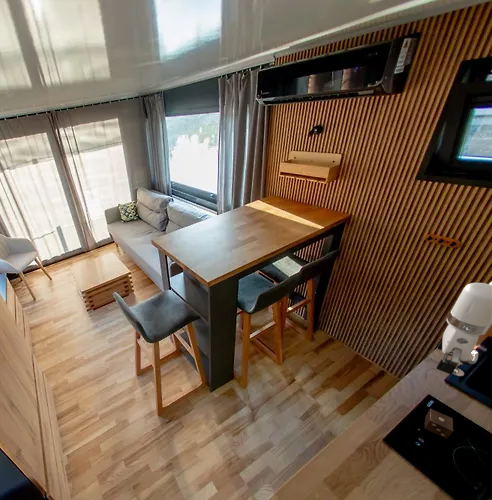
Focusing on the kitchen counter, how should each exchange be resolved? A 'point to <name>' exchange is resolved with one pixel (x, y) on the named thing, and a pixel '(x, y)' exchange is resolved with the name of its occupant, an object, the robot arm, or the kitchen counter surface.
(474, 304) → the robot arm
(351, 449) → the kitchen counter surface
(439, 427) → the die
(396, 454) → the kitchen counter surface
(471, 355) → the wineglass
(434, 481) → the kitchen counter surface
